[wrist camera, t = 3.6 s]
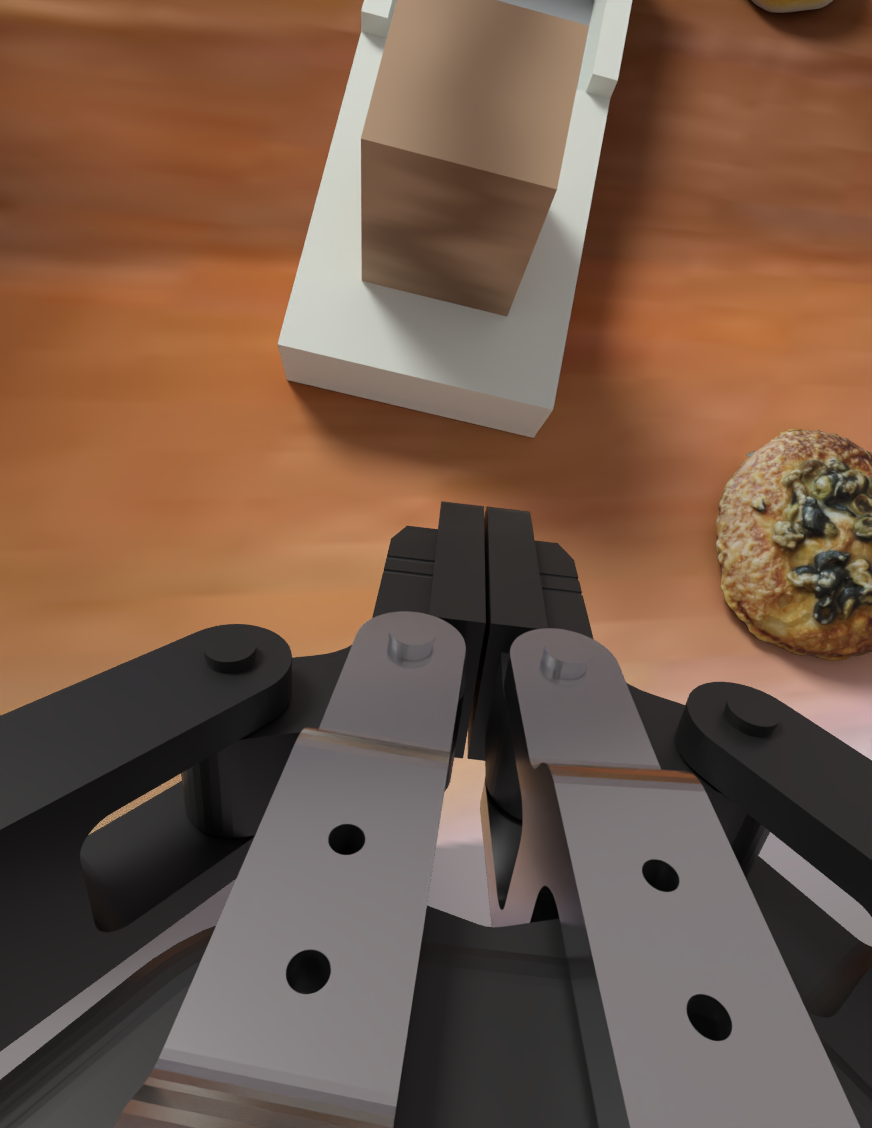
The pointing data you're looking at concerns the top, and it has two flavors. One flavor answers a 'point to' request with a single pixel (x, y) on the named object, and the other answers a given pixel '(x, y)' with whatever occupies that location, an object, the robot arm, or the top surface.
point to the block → (465, 147)
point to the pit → (591, 3)
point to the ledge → (429, 326)
